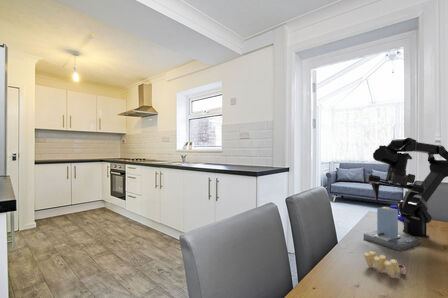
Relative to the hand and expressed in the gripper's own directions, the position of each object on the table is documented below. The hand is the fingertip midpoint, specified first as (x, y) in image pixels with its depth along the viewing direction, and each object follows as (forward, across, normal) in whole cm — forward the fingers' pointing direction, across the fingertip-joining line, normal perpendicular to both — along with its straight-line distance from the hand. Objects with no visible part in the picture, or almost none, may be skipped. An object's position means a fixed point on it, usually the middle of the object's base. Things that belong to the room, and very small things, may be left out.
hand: (389, 204), depth 91 cm
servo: (+14, 0, -6) cm, 15 cm away
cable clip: (+6, +13, +33) cm, 36 cm away
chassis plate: (+14, +2, -4) cm, 14 cm away
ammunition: (+20, -6, -31) cm, 37 cm away
